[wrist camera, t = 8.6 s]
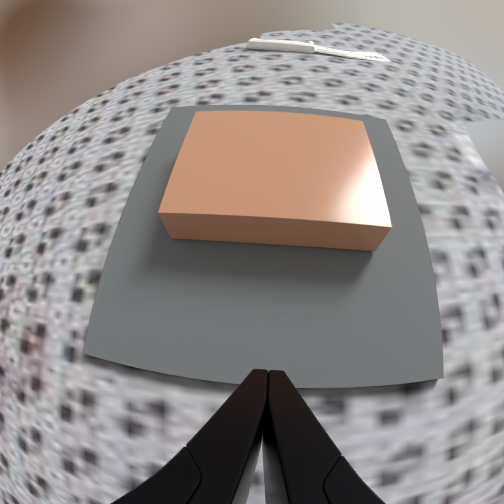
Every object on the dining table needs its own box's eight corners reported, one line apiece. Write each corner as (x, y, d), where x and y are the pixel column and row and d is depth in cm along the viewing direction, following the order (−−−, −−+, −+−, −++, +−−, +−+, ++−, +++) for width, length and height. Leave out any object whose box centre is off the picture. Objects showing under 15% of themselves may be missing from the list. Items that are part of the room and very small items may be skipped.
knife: (407, 63, 37) (409, 57, 36) (423, 77, 35) (425, 70, 33) (245, 45, 36) (245, 36, 34) (249, 56, 33) (249, 46, 31)
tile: (391, 227, 14) (362, 121, 19) (158, 212, 15) (196, 111, 20) (374, 252, 17) (354, 148, 21) (171, 240, 18) (201, 139, 22)
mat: (438, 378, 13) (443, 377, 13) (88, 354, 15) (83, 353, 14) (384, 124, 24) (385, 119, 24) (172, 112, 26) (171, 107, 25)
